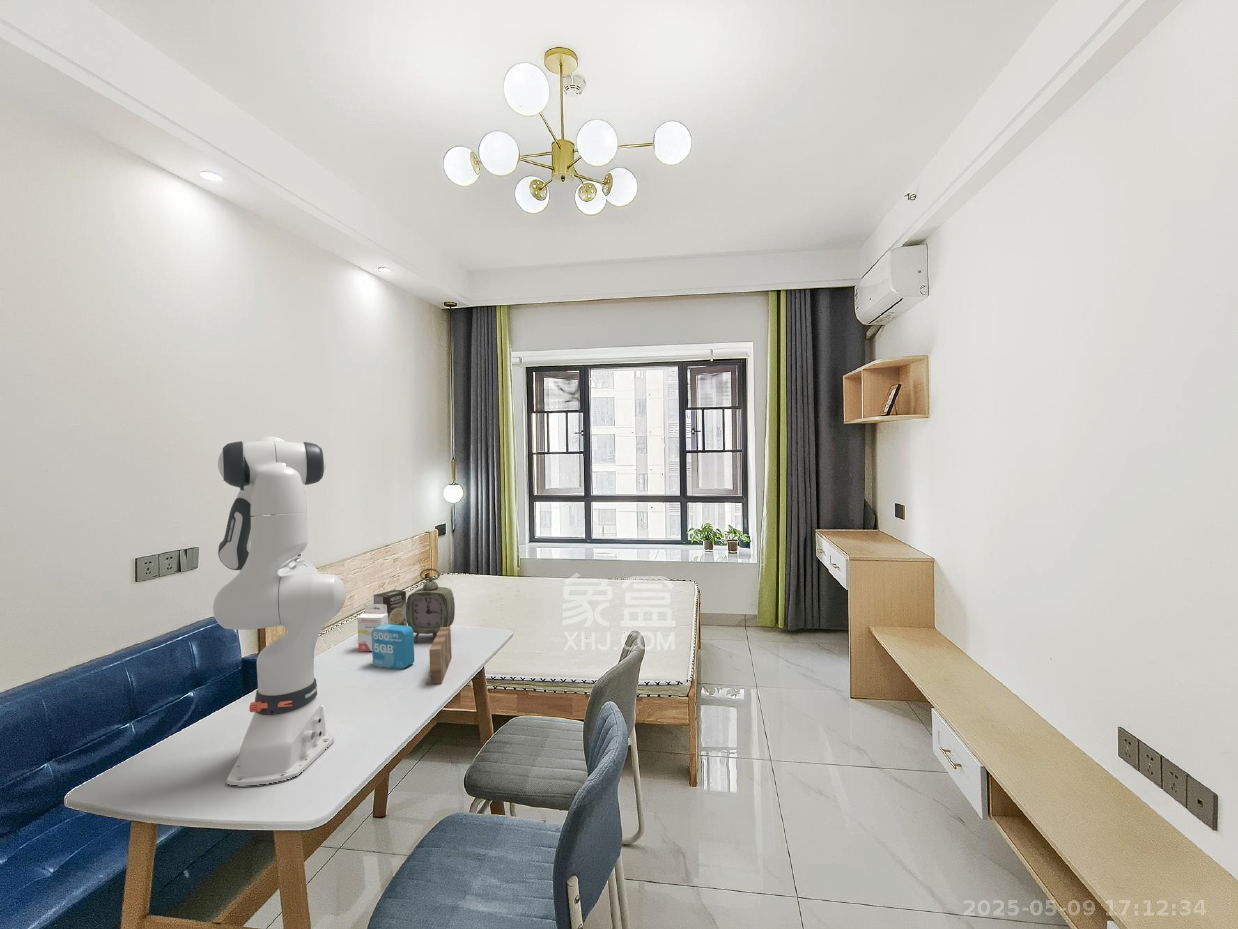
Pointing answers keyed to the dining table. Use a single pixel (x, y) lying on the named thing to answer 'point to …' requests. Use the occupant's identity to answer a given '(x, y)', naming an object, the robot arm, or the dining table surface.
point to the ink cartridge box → (370, 624)
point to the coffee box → (393, 606)
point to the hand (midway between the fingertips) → (316, 594)
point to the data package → (392, 646)
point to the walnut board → (440, 655)
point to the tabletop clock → (430, 608)
